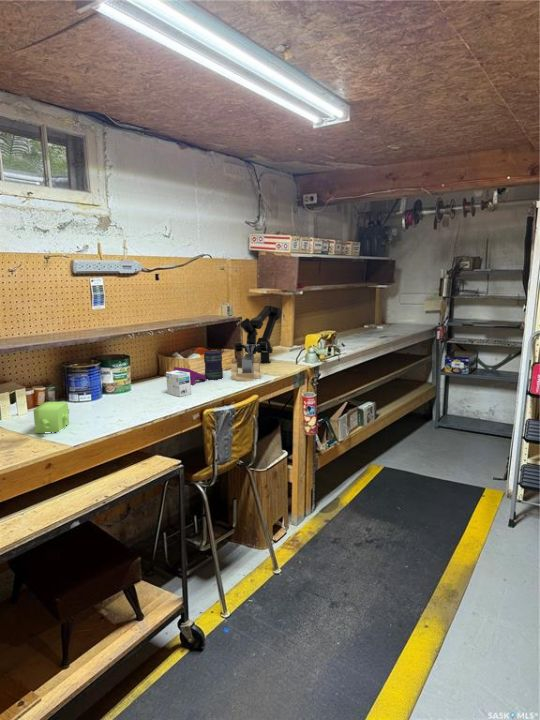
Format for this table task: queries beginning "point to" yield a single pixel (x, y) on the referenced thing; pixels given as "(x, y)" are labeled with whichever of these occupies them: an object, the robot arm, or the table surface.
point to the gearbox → (51, 417)
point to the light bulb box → (178, 383)
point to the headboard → (245, 376)
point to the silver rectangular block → (248, 363)
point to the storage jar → (213, 364)
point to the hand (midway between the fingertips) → (250, 358)
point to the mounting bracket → (191, 374)
